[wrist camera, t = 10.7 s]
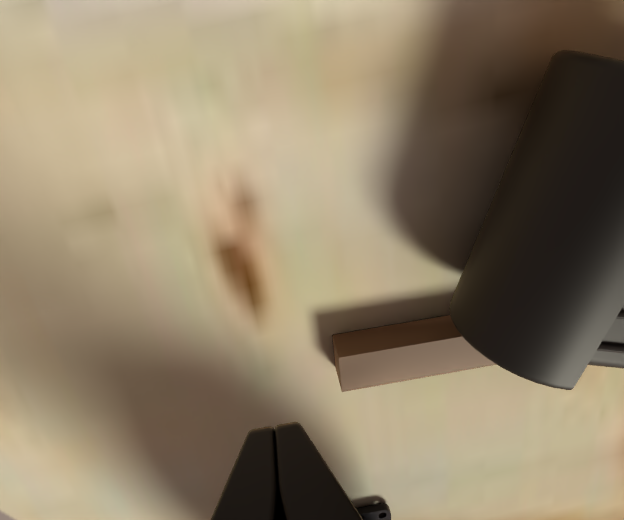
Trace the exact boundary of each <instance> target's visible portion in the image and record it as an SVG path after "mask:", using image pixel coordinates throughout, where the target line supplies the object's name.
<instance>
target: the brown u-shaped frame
mask: <svg viewBox="0 0 624 520" xmlns="http://www.w3.org/2000/svg"><path fill="white" fill-rule="evenodd" d="M332 337H333V347H334V356H335V366H336V371H337V375H338V378H339V382H340V386H341V390H342V392H344V391H350V390H356V389H361V388H367V387H373V386H378V385H384V384H389V383H395V382H401V381H406V380H412V379H418V378H423V377H429V376H435V375H440V374H446V373H452V372H457V371H463V370H468V369H474V368H480V367H485V366H491V365H497V364H495V363H494V362H492V361H491V360H489V359H487V358H486V357H485V356H483V355H482V354H481V353H480V352H478V351H477V350H476V349H474V348H473V347H472V346H471V345H470V344H469V343H468V342H467V341H466V340H465V339H464V338H463V337H462V335H461V334H460V333H459V331H458V330H457V329H456V327H455V325H454V323H453V321H452V319H451V315H448V316H442V317H436V318H430V319H424V320H418V321H412V322H406V323H400V324H394V325H388V326H383V327H377V328H371V329H365V330H359V331H353V332H347V333H341V334H335V335H332Z"/></svg>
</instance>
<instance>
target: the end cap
mask: <svg viewBox="0 0 624 520" xmlns="http://www.w3.org/2000/svg"><path fill="white" fill-rule="evenodd" d="M449 310H450V315H451V319H452V321H453V323H454V325H455V327H456V329H457V330H458V331H459V333H460V334H461V335H462V337H463V338H464V339H465V340H466V341H467V342H468V343H469V344H470V345H471V346H472V347H473V348H474V349H476V350H477V351H478V352H480V353H481V354H482V355H483V356H485V357H486V358H487V359H489V360H491V361H492V362H494V363H495V364H497V365H499V366H500V367H502V368H504V369H506V370H508V371H510V372H512V373H514V374H516V375H518V376H520V377H523V378H525V379H528V380H530V381H533V382H535V383H539V384H542V385H546V386H549V387H553V388H560V389H566V390H571V389H573V388H574V386H575V385H576V383H577V381H578V380H579V378H580V377H581V375H582V373H583V372H584V370H585V368H586V367H587V365H595V366H606V367H616V368H624V61H622V60H617V59H612V58H608V57H603V56H598V55H593V54H587V53H582V52H576V51H568V50H563V51H559V52H557V53H555V54H554V55H553V57H552V59H551V61H550V63H549V66H548V68H547V71H546V73H545V75H544V78H543V80H542V83H541V85H540V87H539V90H538V92H537V95H536V97H535V100H534V102H533V104H532V107H531V109H530V112H529V114H528V116H527V119H526V121H525V124H524V126H523V128H522V131H521V133H520V136H519V138H518V140H517V143H516V145H515V148H514V150H513V152H512V155H511V157H510V160H509V162H508V165H507V167H506V169H505V172H504V174H503V177H502V179H501V181H500V184H499V186H498V189H497V191H496V193H495V196H494V198H493V201H492V203H491V205H490V208H489V210H488V213H487V215H486V217H485V220H484V222H483V225H482V227H481V230H480V232H479V234H478V237H477V239H476V242H475V244H474V246H473V249H472V251H471V254H470V256H469V258H468V261H467V263H466V266H465V268H464V270H463V273H462V275H461V278H460V280H459V283H458V285H457V287H456V290H455V292H454V295H453V297H452V299H451V303H450V308H449Z"/></svg>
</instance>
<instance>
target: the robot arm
mask: <svg viewBox="0 0 624 520" xmlns="http://www.w3.org/2000/svg"><path fill="white" fill-rule="evenodd" d="M211 520H391V513H390V509H389V506H388V505H387V504H377V505H372V506H367V507H362V508H357V509H356V508H355V507H354V505H353V504H352V502H351V501H350V499H349V498H348V496H347V495H346V493H345V492H344V490H343V488H342V487H341V485H340V484H339V482H338V481H337V479H336V478H335V476H334V475H333V473H332V472H331V470H330V469H329V467H328V466H327V464H326V463H325V461H324V460H323V458H322V456H321V455H320V453H319V452H318V450H317V449H316V447H315V446H314V444H313V443H312V441H311V440H310V438H309V437H308V435H307V434H306V432H305V431H304V429H303V427H302V426H301V425H300V424H299V423H298V422H292V423H286V424H281V425H277V426H276V427H275V430H274V428H273V427H264V428H258V429H253V430H251V431H250V432H249V433H248V435H247V437H246V439H245V441H244V444H243V446H242V448H241V451H240V453H239V455H238V458H237V460H236V462H235V465H234V467H233V469H232V472H231V474H230V476H229V478H228V481H227V483H226V485H225V488H224V490H223V492H222V495H221V497H220V499H219V502H218V504H217V506H216V509H215V511H214V513H213V516H212V518H211Z"/></svg>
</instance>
